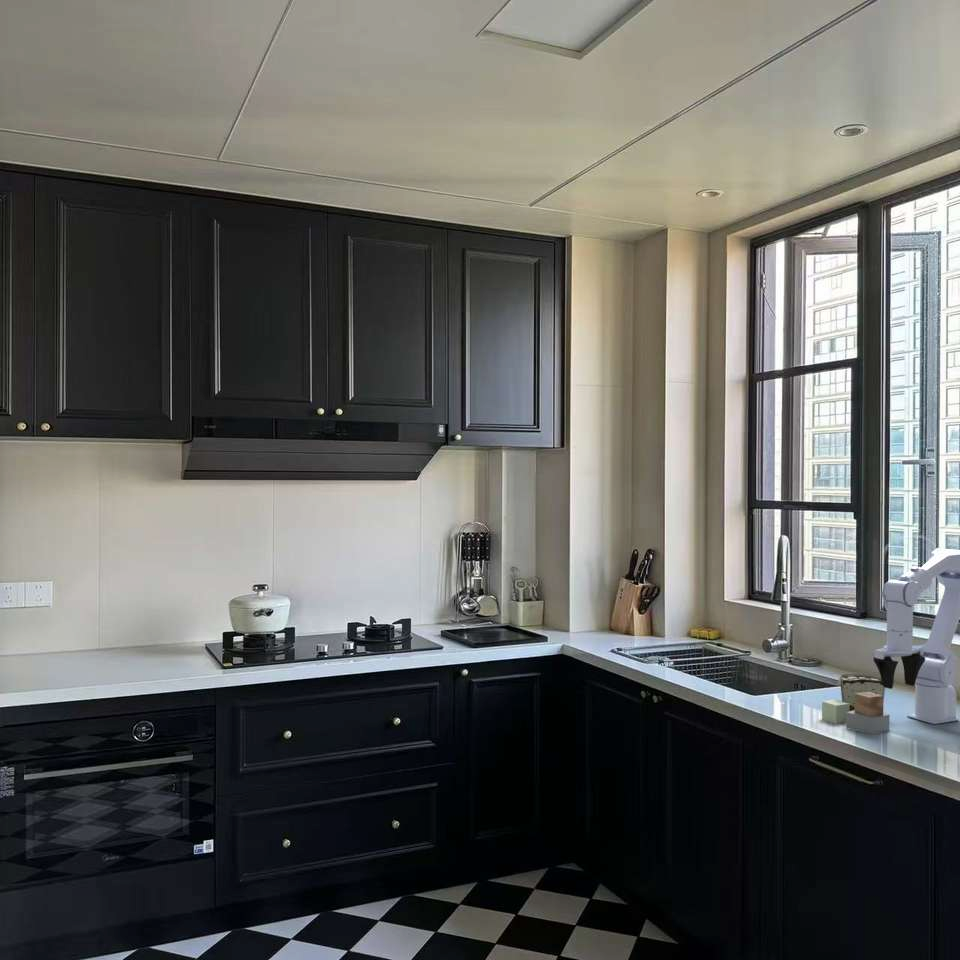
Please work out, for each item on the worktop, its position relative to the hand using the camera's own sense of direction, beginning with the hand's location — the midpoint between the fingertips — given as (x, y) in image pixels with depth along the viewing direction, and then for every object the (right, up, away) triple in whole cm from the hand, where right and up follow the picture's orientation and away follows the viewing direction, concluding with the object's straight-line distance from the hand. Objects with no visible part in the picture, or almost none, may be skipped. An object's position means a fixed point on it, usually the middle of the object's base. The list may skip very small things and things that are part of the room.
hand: (898, 686), depth 220 cm
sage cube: (-13, -10, +6) cm, 17 cm away
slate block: (-8, -10, -2) cm, 13 cm away
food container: (-5, -10, +12) cm, 16 cm away
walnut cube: (-8, -6, -2) cm, 10 cm away
